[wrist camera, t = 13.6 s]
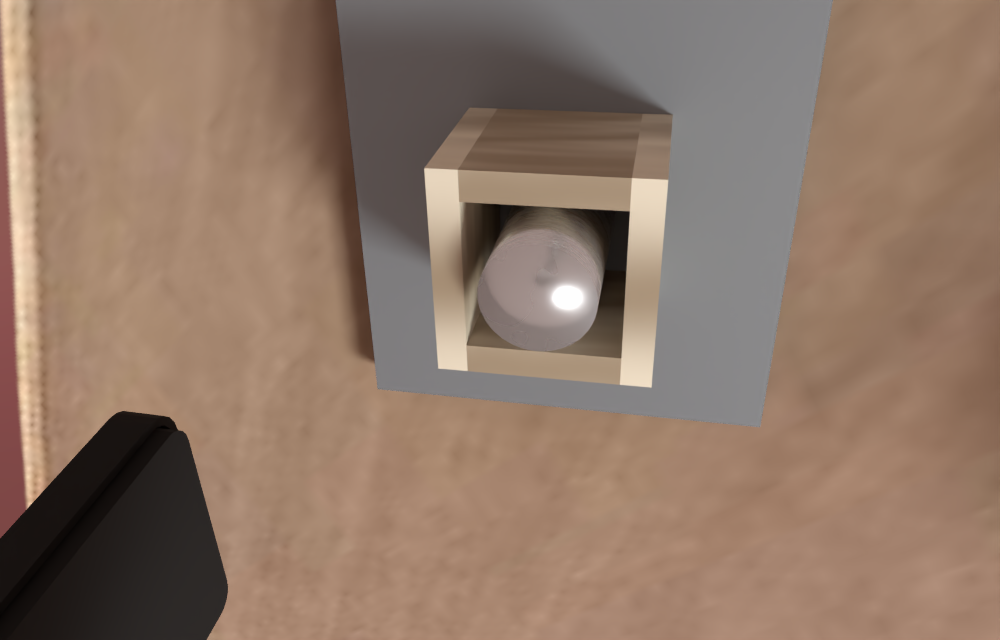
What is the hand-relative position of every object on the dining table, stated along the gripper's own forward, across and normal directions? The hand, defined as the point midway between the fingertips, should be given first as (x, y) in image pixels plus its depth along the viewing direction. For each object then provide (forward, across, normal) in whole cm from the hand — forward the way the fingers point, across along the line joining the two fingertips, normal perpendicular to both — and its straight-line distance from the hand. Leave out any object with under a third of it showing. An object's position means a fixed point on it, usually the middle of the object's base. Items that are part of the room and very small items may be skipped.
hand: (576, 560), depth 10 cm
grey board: (+23, +3, +6) cm, 24 cm away
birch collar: (+22, +3, +6) cm, 23 cm away
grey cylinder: (+22, +3, +6) cm, 23 cm away
